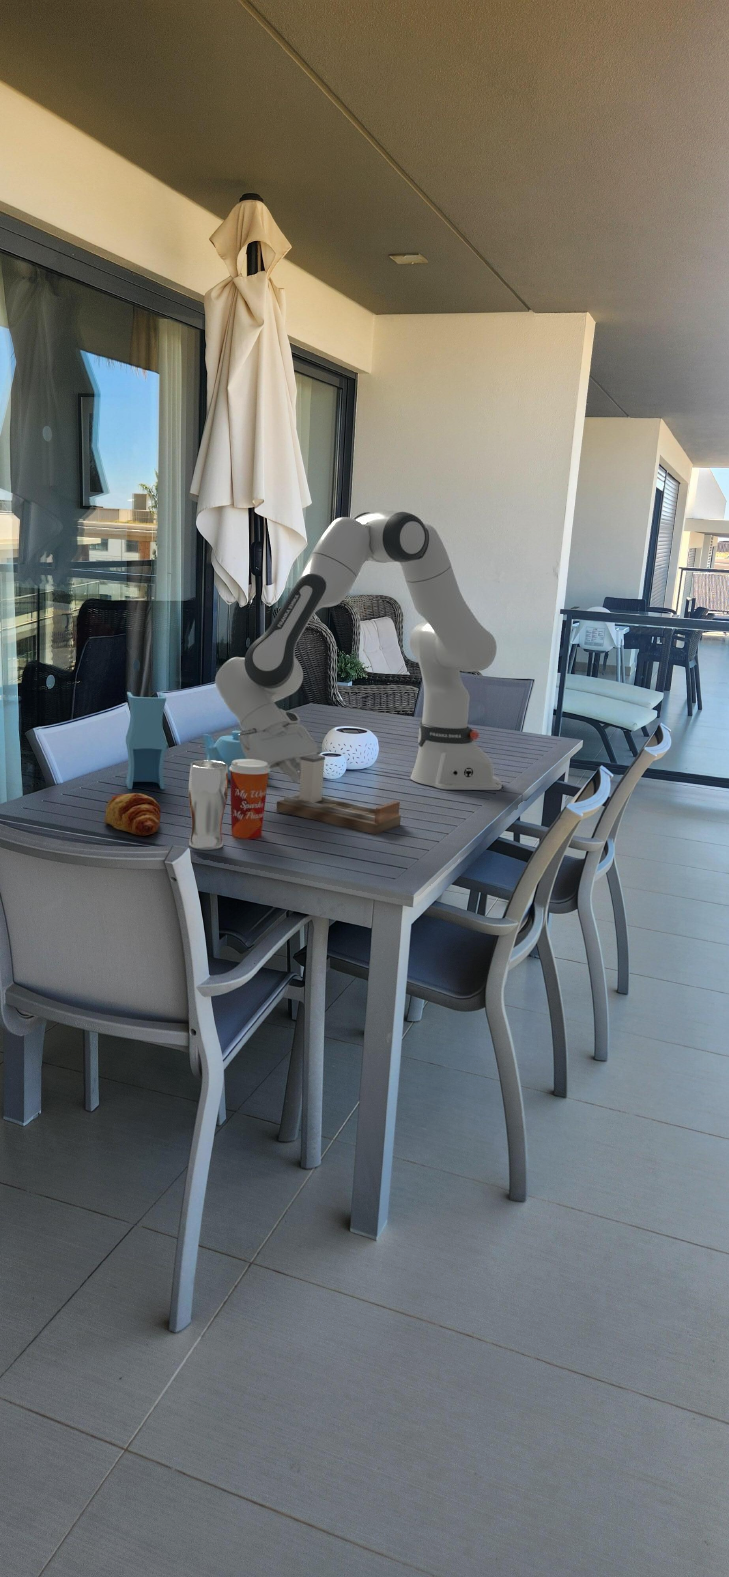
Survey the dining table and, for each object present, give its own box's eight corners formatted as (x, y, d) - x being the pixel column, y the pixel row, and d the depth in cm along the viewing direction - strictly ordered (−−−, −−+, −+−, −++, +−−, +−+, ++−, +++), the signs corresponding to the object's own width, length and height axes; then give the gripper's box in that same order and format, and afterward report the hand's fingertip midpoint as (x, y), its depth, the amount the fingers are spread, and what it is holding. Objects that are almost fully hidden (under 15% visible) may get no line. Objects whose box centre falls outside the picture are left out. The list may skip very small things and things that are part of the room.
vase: (160, 780, 225) (163, 692, 220) (165, 789, 218) (167, 698, 213) (124, 780, 222) (126, 691, 218) (128, 789, 215) (130, 697, 210)
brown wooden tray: (276, 810, 207) (277, 787, 206) (303, 802, 215) (304, 780, 214) (375, 834, 195) (377, 809, 194) (400, 824, 204) (402, 801, 202)
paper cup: (232, 841, 183) (235, 767, 180) (221, 830, 190) (224, 758, 187) (272, 839, 186) (276, 766, 183) (260, 828, 193) (264, 758, 190)
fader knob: (298, 800, 207) (301, 756, 205) (309, 797, 211) (312, 754, 208) (311, 803, 205) (314, 759, 203) (322, 800, 209) (325, 756, 207)
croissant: (102, 829, 197) (83, 795, 193) (146, 803, 200) (128, 770, 197) (136, 858, 179) (116, 822, 176) (184, 829, 183) (165, 793, 179)
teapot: (272, 784, 230) (275, 738, 228) (207, 783, 226) (209, 736, 224) (262, 769, 244) (264, 726, 242) (200, 768, 240) (202, 724, 238)
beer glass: (217, 852, 176) (221, 770, 172) (180, 847, 177) (183, 765, 174) (230, 842, 182) (234, 762, 179) (194, 837, 184) (197, 758, 180)
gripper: (244, 723, 201) (281, 778, 198) (301, 713, 218) (336, 764, 215) (225, 741, 204) (261, 796, 201) (283, 730, 221) (317, 780, 219)
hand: (300, 779), depth 209 cm, fingers closed
